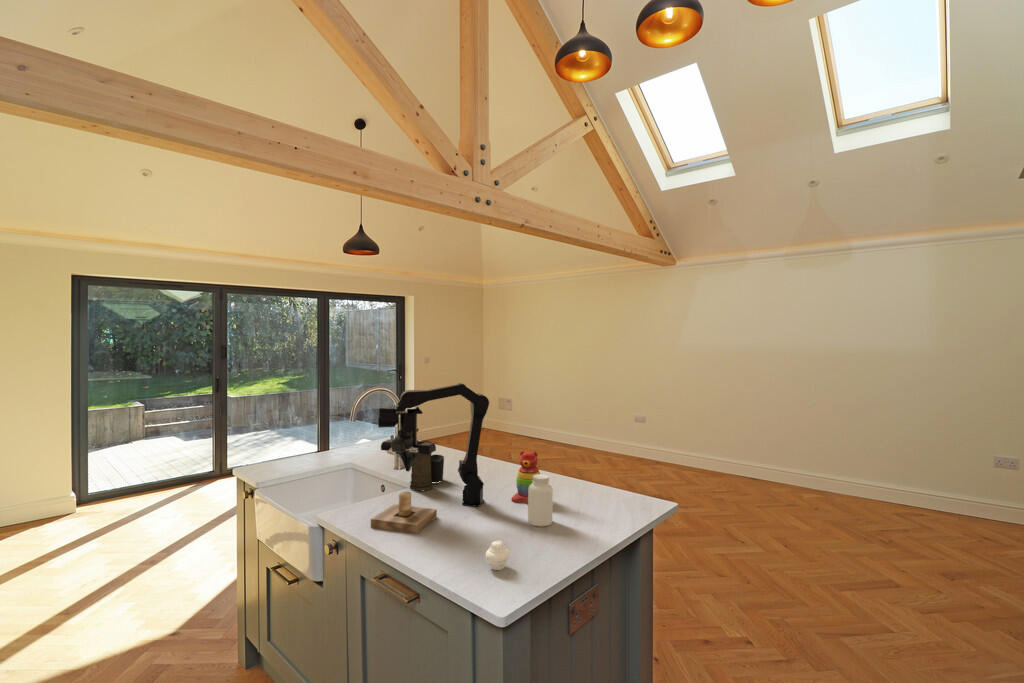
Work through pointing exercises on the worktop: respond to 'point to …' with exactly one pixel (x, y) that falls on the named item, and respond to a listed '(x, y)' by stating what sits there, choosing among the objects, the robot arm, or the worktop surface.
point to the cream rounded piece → (497, 555)
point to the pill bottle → (540, 501)
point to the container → (421, 471)
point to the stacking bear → (525, 475)
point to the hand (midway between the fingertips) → (407, 471)
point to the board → (404, 519)
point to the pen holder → (437, 468)
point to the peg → (404, 505)
